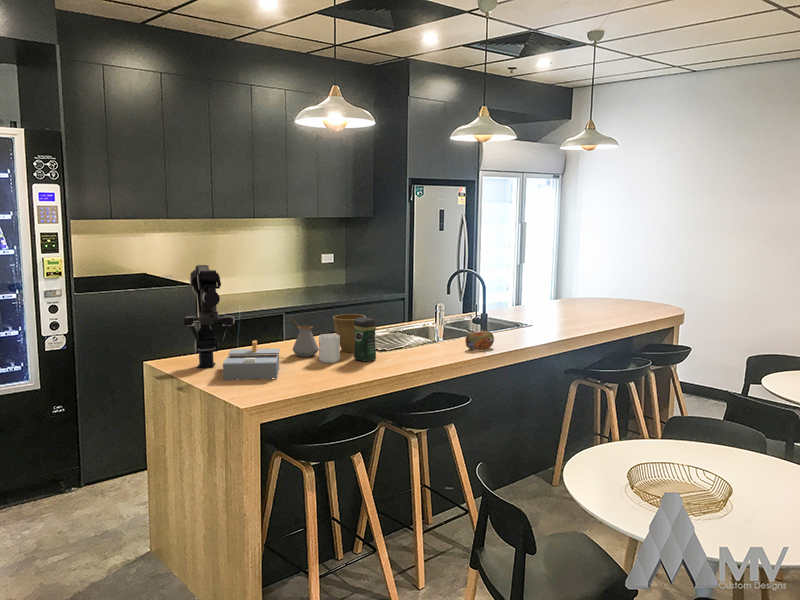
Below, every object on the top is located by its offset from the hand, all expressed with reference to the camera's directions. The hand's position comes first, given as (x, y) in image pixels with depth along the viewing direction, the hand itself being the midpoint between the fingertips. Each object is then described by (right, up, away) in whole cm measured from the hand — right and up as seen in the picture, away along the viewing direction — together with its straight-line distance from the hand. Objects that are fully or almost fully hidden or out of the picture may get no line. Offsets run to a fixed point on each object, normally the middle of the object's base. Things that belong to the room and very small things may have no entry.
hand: (210, 342), depth 253 cm
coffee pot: (+29, -8, +40) cm, 50 cm away
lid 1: (+14, -5, +14) cm, 21 cm away
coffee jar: (+59, -10, +29) cm, 66 cm away
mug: (+43, -10, +27) cm, 52 cm away
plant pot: (+51, -7, +46) cm, 69 cm away
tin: (+112, -7, +53) cm, 124 cm away
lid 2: (+16, -7, -2) cm, 18 cm away
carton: (+16, -13, +3) cm, 21 cm away
